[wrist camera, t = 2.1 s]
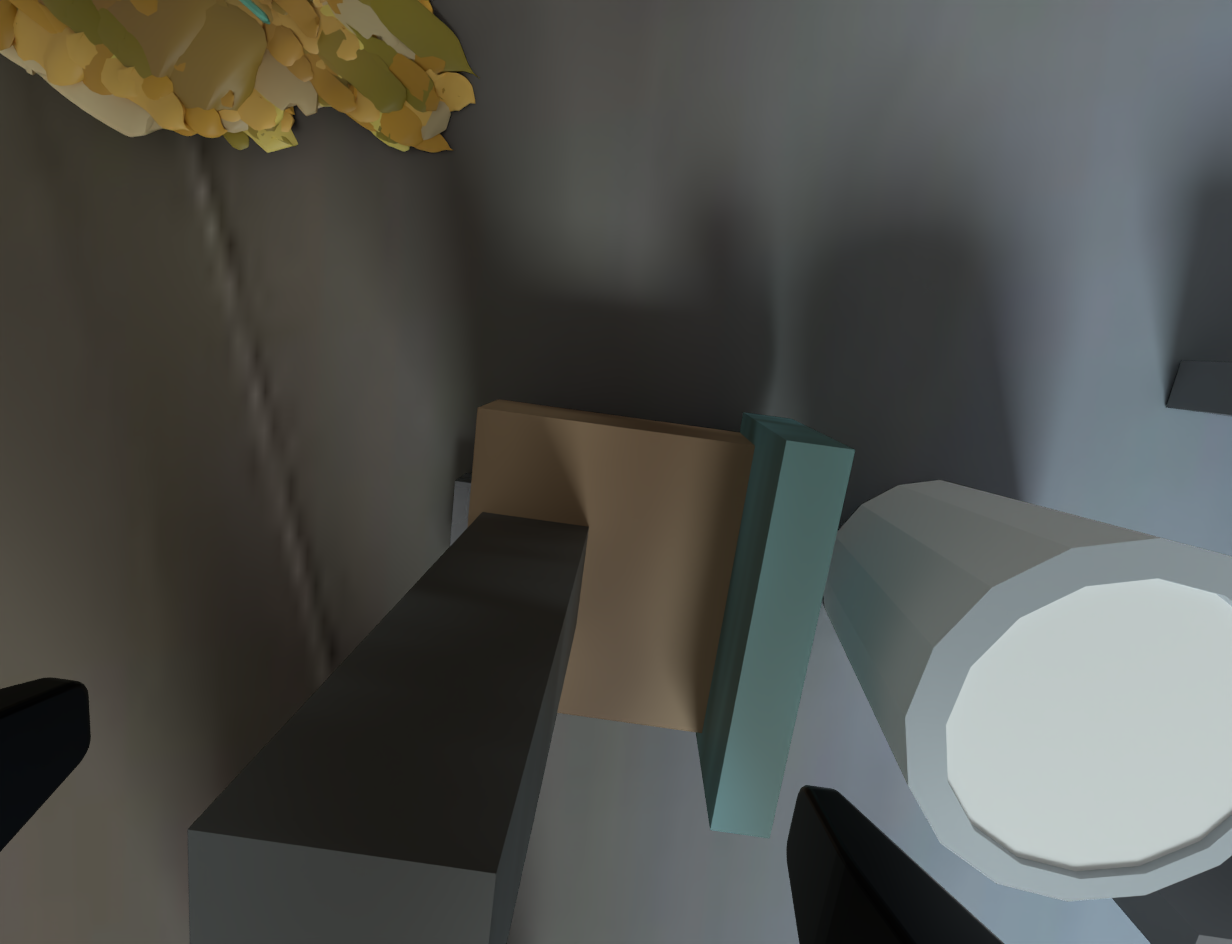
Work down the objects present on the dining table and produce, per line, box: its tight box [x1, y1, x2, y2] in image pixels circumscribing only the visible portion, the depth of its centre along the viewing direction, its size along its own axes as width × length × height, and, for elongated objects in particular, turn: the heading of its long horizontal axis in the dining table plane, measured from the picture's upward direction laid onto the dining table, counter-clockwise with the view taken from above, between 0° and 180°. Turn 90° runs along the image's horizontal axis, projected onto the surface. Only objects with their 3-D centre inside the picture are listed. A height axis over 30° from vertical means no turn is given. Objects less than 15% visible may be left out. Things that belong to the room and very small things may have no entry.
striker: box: [188, 399, 855, 944], centre depth 10 cm, size 7×8×11 cm
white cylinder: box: [823, 480, 1232, 901], centre depth 13 cm, size 7×7×7 cm
